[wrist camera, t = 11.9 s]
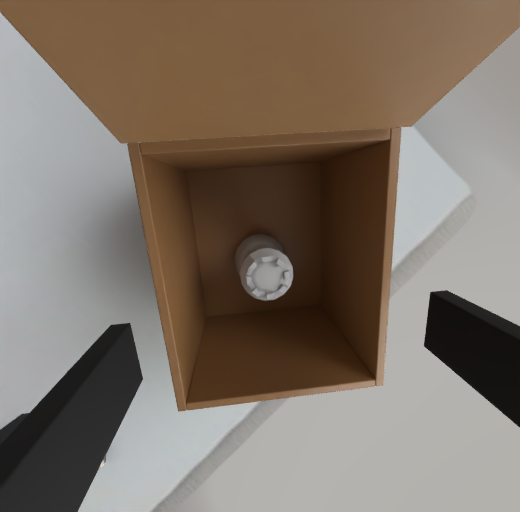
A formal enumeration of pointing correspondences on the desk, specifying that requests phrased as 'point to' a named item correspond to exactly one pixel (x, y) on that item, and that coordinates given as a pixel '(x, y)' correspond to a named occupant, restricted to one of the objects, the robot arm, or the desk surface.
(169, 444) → the desk surface
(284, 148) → the carton
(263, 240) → the rook chess piece
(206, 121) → the flap
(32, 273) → the desk surface
